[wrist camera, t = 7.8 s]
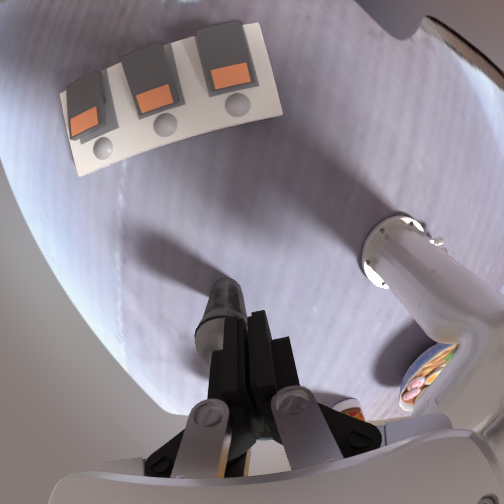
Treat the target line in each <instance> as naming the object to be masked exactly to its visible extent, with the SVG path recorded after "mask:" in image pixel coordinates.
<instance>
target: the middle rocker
mask: <svg viewBox="0 0 504 504" xmlns="http://www.w3.org/2000/svg"><path fill="white" fill-rule="evenodd" d="M120 61H121V64H122V67H123V70H124V73H125V76H126V79H127V82H128V85H129V88H130V91H131V94H132V97H133V100H134V103H135V106H136V109H137V112H138V115H139V116H141V115H143V114H146V113H149V112H151V111H154V110H157V109H160V108H163V107H166V106H169V105H172V104H175V103H178V102H179V101H180V100H179V97H178V93H177V90H176V87H175V84H174V80H173V77H172V73H171V69H170V67H169V63H168V60H167V57H166V53H165V50H164V46H163V43H162V42H158V43H155V44H153V45H150V46H147V47H145V48H142V49H139V50H137V51H134V52H132V53H130V54H127V55H125V56H123V57H120Z"/></svg>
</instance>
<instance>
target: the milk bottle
mask: <svg viewBox="0 0 504 504" xmlns="http://www.w3.org/2000/svg"><path fill="white" fill-rule="evenodd" d="M332 409H334V410H336V411H339V412H341V413H344V414H346V415H349V416H352V417H354V418H357V419H359V420H362V421H365V422H367V421H366V418H365V415H364V412H363V410H362V407H361V405H360V403H359V401H357V400H355V399H348V400H344V401H341V402H339V403H338V404H336V405H335V406H334V407H333V408H332Z"/></svg>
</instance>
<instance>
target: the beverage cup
mask: <svg viewBox="0 0 504 504" xmlns="http://www.w3.org/2000/svg"><path fill="white" fill-rule="evenodd" d="M237 315H238V316H239V319H240V318H244V320H245V323H246V326H247V330H248V325H247V314H246V309H245V304H244V298H243V293H242V291H241V287H240V285H239V284H238V283H237V282H236V281H234V280H232V279H222V280H219V281H218V282H216V283H215V285H214V287H213V289H212V291H211V294H210V297H209V300H208V303H207V306H206V310H205V313H204V316H203V319H202V320H201V322H200V323H199V325H198V327H197V328H196V331H195V343H196V349H197V352H198V354H199V356H200V357H201V359H202V360H203V361H204V362H205V363H206V364H207V365H209V366H211V356H212V352H213V351H216V350H222V349H223V336H224V320H225V318H227V317H232V316H237Z"/></svg>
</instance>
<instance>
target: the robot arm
mask: <svg viewBox="0 0 504 504" xmlns="http://www.w3.org/2000/svg"><path fill="white" fill-rule="evenodd" d="M442 244H443V239H442V238H441V237H438V238H434V239H430V238H429V237H428V236H426V234H425V231H424V229H423V227H422V226H421V225H420V224H419V223H418V222H417V221H415V220H414V219H412V218H410V217H408V216H404V215H397V216H392V217H389V218H387V219H385V220H383V221H382V222H380V223H379V224H378V225H377V226H376V227H375V228H374V229H373V230H372V231H371V233H370V234H369V235H368V237H367V239H366V241H365V244H364V247H363V250H362V267H363V270H364V273H365V275H366V276H367V277H368V279H369V280H370V281H371V282H372V283H373V284H375V285H376V286H379V287H382V288H389V289H390V290H391V291H392V292H393V294H394V295H395V296H396V297H397V298H398V300H399V301H400V302H401V303H402V304H403V306H404V307H405V308H406V309H407V311H408V312H409V313H410V314H411V316H412V317H413V318H414V319H415V321H416V322H417V323H418V324H419V326H420V327H421V328H422V330H423V331H424V332H425V333H426V334H427V335H428V337H430V338H431V339H432V340H434V341H436V342H439V343H443V344H459V347H458V349H457V351H456V352H455V353H454V355H453V356H452V358H451V360H450V361H449V362H448V364H447V365H446V366H445V367H444V369H443V370H442V371H441V372H440V373H439V375H438V376H437V377H436V378H435V379H434V381H433V382H432V383H431V384H430V385H429V387H428V388H427V389H426V390H425V391H424V393H423V394H422V395H421V396H420V398H419V399H418V400H417V402H416V404H415V406H414V408H413V412H412V418H408V419H403V420H398V421H391V422H385V425H380V426H374V425H372V424H370V423H368V422H365V421H362V420H359V419H357V418H354V417H352V416H349V415H346V414H344V413H341V412H339V411H336V410H334V409H332V408H329V407H327V406H324V405H322V404H320V403H317V402H316V399H315V397H314V395H313V394H312V392H311V391H310V390H309V389H307V388H305V387H302V386H300V384H299V379H298V375H297V370H296V366H295V361H294V357H293V353H292V348H291V344H290V339H289V336H288V337H284V338H279V339H274V340H272V337H271V333H270V329H269V325H268V321H267V317H266V313H265V310H261V311H257V312H252V316H250V317H247V325H248V330H247V326H246V323H245V320H244V318H240V319H239V316H238V315H237V316H232V317H227V318H225V320H224V336H223V349H222V350H216V351H213V352H212V356H211V366H210V376H209V387H208V398H207V399H206V400H204V401H201V402H199V403H198V404H196V405H195V406H194V407H193V408H192V410H191V412H190V414H189V418H188V421H187V424H186V427H185V429H184V430H183V431H181V432H180V433H179V434H178V435H176V436H175V437H174V438H173V439H171V440H170V441H169V442H167V443H166V444H165V445H163V446H162V447H161V448H159V449H158V450H157V451H155V452H154V453H153V454H152V455H150V456H149V457H148V458H146V459H145V458H143V457H138V458H131V459H122V460H114V461H104V462H100V463H99V464H98V465H96V467H95V468H94V470H93V472H82V473H76V474H72V475H68V476H66V477H64V478H62V479H61V480H59V481H58V483H57V484H56V486H55V487H54V489H53V491H52V493H51V496H50V498H49V501H48V504H504V295H503V294H501V293H500V292H498V291H497V290H495V289H493V288H492V287H491V286H489V285H488V284H487V283H485V282H484V281H483V280H481V279H480V278H479V277H477V276H476V275H475V274H473V273H472V272H471V271H470V270H468V269H467V268H466V267H464V266H463V265H462V264H460V263H459V262H458V261H456V260H455V259H454V258H452V257H451V256H450V255H448V251H447V249H446V248H444V247H443V248H439V247H437V246H440V245H442ZM263 420H264V421H263ZM264 422H265V425H266V427H267V429H268V431H270V433H271V436H272V438H273V440H275V441H277V442H278V443H280V444H282V445H283V446H284V449H285V452H286V455H287V458H288V461H289V464H290V467H291V470H292V471H287V472H280V473H273V474H265V475H257V476H248V471H249V464H250V457H251V446H253V445H254V444H255V443H256V440H257V439H260V432H263V431H264Z"/></svg>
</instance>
